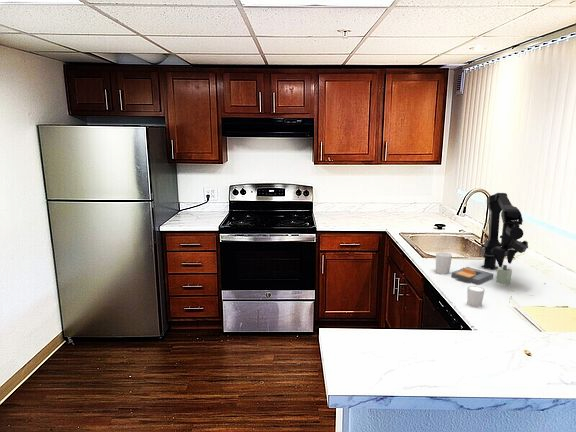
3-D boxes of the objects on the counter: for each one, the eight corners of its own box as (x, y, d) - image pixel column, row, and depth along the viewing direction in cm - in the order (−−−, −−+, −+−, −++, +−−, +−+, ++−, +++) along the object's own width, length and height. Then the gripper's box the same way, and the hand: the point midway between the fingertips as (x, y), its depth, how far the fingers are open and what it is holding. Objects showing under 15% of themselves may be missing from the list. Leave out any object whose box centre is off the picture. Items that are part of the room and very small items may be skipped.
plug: (500, 280, 203) (502, 263, 201) (510, 283, 199) (512, 265, 197) (495, 282, 200) (497, 265, 199) (506, 285, 196) (508, 267, 195)
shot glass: (462, 300, 178) (464, 285, 176) (477, 300, 178) (479, 285, 177) (471, 307, 171) (472, 291, 170) (486, 306, 172) (488, 291, 170)
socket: (467, 271, 217) (467, 266, 216) (493, 278, 206) (493, 273, 205) (451, 276, 208) (451, 272, 207) (477, 284, 197) (478, 280, 196)
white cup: (451, 275, 210) (453, 256, 208) (435, 274, 212) (437, 255, 210) (448, 270, 218) (450, 252, 216) (433, 269, 220) (434, 251, 218)
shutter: (462, 271, 207) (463, 267, 206) (475, 275, 201) (476, 270, 201) (456, 274, 203) (456, 269, 203) (469, 278, 198) (469, 273, 197)
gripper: (517, 240, 183) (513, 273, 186) (535, 234, 194) (531, 265, 197) (492, 235, 192) (489, 267, 195) (511, 230, 203) (507, 260, 206)
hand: (505, 265), depth 198 cm, fingers open, 9 cm apart
